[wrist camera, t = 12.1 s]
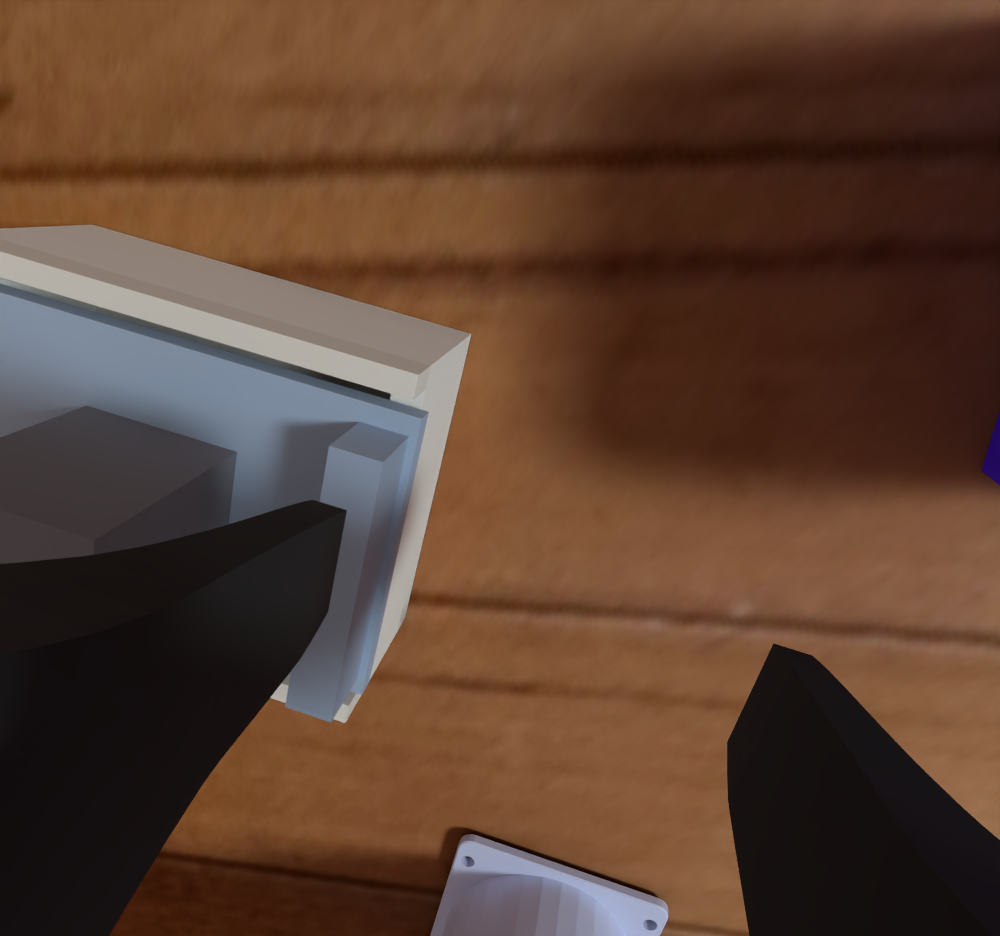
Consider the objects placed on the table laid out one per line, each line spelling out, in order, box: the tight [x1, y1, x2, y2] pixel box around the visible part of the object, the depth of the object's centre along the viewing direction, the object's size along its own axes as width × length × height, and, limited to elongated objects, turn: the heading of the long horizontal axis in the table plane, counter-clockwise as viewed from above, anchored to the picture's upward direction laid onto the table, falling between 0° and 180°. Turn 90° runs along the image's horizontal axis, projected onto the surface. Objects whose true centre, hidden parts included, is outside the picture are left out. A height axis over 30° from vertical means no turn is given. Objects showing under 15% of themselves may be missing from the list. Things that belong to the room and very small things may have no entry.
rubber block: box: [0, 406, 237, 564], centre depth 16 cm, size 4×4×5 cm
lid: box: [0, 284, 429, 722], centre depth 18 cm, size 8×12×2 cm
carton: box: [0, 225, 471, 723], centre depth 21 cm, size 10×12×5 cm
